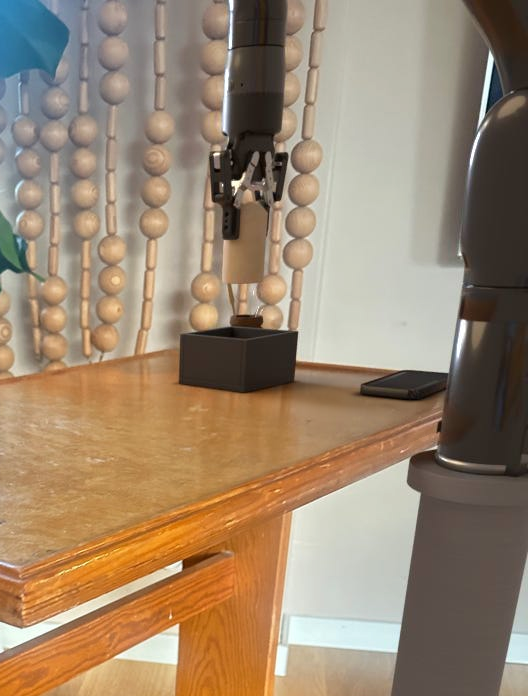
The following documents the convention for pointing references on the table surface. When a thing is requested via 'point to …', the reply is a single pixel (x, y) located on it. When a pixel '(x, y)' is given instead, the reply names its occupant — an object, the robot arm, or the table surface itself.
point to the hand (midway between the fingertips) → (245, 238)
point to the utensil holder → (245, 319)
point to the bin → (237, 358)
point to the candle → (246, 247)
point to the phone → (406, 384)
